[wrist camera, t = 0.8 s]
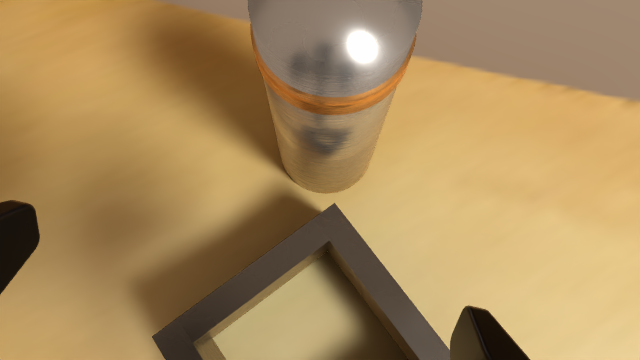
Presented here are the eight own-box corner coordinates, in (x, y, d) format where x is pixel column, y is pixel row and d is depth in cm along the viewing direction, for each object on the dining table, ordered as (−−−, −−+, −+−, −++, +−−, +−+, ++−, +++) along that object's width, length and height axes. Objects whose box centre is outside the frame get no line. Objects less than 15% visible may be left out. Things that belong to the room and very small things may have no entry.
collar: (451, 374, 21) (477, 386, 17) (291, 515, 19) (285, 559, 16) (331, 219, 23) (334, 202, 19) (178, 332, 21) (151, 336, 18)
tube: (392, 158, 24) (463, 15, 12) (316, 214, 23) (316, 114, 11) (334, 90, 25) (350, -98, 14) (260, 140, 24) (209, -17, 13)
